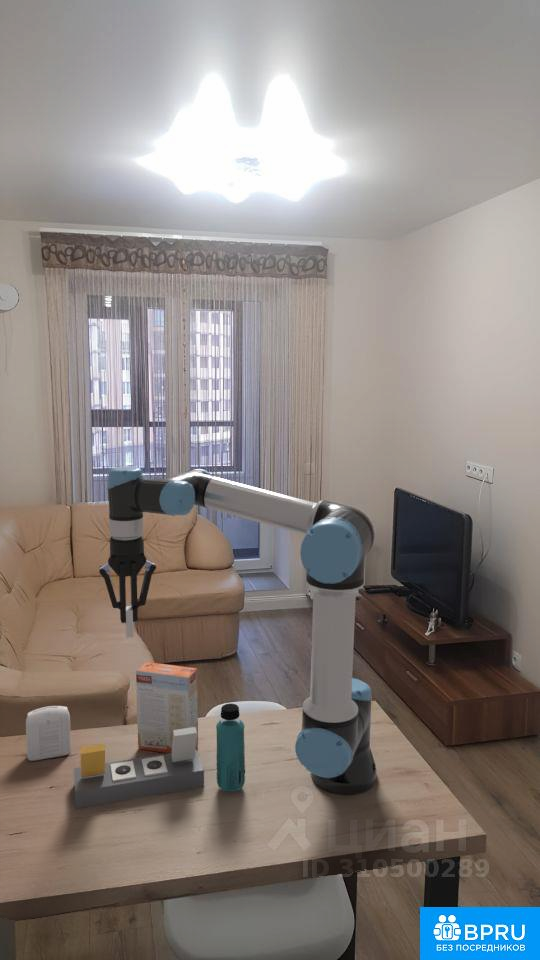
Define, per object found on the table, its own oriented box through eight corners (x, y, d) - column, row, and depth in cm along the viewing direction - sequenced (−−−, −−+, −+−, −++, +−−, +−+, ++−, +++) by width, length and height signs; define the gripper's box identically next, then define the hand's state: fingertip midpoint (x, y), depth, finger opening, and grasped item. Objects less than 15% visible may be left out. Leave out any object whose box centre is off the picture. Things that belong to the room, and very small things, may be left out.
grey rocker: (192, 755, 161) (195, 726, 156) (194, 761, 160) (196, 732, 155) (171, 759, 160) (173, 730, 155) (172, 765, 159) (174, 736, 153)
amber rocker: (104, 769, 155) (104, 743, 150) (104, 776, 154) (105, 750, 148) (81, 773, 154) (80, 747, 148) (81, 779, 153) (80, 753, 147)
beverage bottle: (241, 800, 153) (241, 715, 149) (212, 796, 154) (211, 712, 150) (248, 782, 159) (248, 701, 155) (220, 778, 160) (219, 698, 157)
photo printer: (70, 746, 173) (68, 699, 171) (72, 755, 169) (70, 708, 167) (26, 754, 170) (24, 707, 167) (27, 763, 166) (24, 715, 163)
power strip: (196, 764, 166) (196, 746, 165) (204, 786, 157) (203, 768, 157) (74, 784, 158) (73, 766, 157) (75, 808, 149) (75, 789, 148)
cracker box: (199, 745, 174) (198, 667, 170) (189, 758, 168) (188, 677, 165) (148, 736, 178) (146, 659, 174) (137, 749, 172) (135, 669, 168)
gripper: (153, 530, 162) (155, 626, 166) (95, 533, 158) (99, 631, 162) (158, 538, 155) (160, 638, 159) (97, 542, 151) (101, 644, 155)
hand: (129, 634), depth 160 cm, fingers closed
